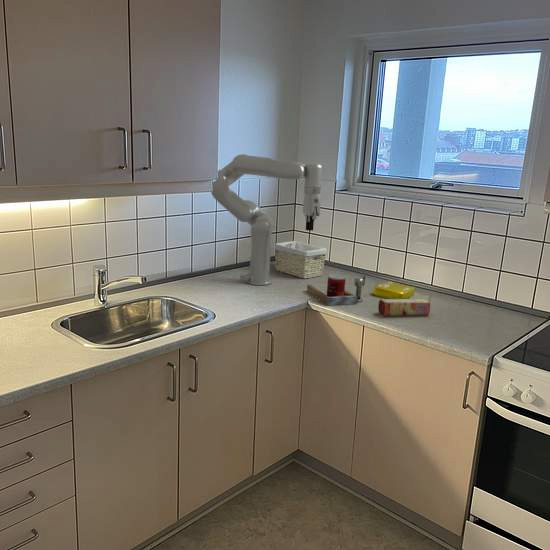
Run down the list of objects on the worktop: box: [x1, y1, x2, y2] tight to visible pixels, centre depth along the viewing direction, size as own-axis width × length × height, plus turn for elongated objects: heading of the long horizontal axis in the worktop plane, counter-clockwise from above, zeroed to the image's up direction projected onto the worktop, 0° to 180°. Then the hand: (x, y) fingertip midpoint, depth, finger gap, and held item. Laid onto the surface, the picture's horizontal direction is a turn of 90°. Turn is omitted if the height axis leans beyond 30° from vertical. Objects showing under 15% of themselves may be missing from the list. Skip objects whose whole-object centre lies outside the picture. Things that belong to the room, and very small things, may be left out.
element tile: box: [373, 281, 416, 299], centre depth 258 cm, size 15×15×5 cm
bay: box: [306, 284, 358, 307], centre depth 248 cm, size 14×22×4 cm, turn 21°
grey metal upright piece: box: [353, 275, 366, 303], centre depth 244 cm, size 4×4×11 cm
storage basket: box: [274, 240, 328, 279], centre depth 287 cm, size 24×16×15 cm
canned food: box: [326, 273, 346, 297], centre depth 244 cm, size 8×8×11 cm
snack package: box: [377, 298, 431, 317], centre depth 230 cm, size 21×7×7 cm, turn 103°
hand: (309, 230), depth 258 cm, fingers closed
